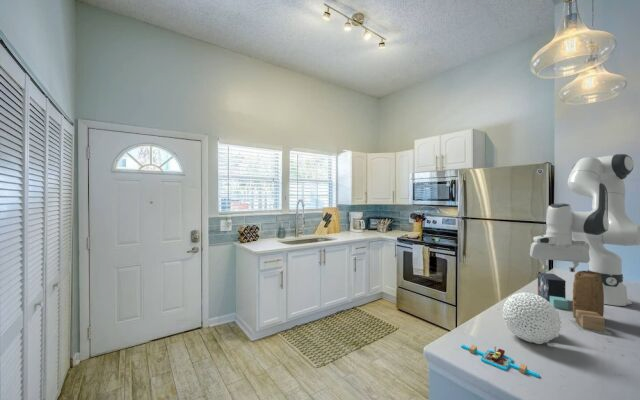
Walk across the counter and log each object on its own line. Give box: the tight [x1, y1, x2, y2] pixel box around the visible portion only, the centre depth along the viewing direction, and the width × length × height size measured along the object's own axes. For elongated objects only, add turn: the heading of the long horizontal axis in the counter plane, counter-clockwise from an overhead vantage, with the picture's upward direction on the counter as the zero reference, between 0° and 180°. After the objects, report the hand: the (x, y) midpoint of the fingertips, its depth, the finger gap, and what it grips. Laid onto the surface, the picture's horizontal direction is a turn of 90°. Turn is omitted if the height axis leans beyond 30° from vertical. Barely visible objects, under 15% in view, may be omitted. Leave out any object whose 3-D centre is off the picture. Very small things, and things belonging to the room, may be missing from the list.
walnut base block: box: [575, 310, 606, 332], centre depth 101 cm, size 6×6×5 cm
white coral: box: [502, 291, 562, 345], centre depth 96 cm, size 20×18×16 cm
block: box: [572, 270, 605, 319], centre depth 109 cm, size 11×8×20 cm
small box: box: [537, 272, 567, 302], centre depth 132 cm, size 13×7×12 cm, turn 159°
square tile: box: [569, 319, 613, 336], centre depth 101 cm, size 9×9×1 cm
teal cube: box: [550, 296, 569, 311], centre depth 120 cm, size 5×5×5 cm
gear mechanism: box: [460, 344, 540, 379], centre depth 81 cm, size 20×5×9 cm
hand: (558, 270), depth 120 cm, fingers open, 8 cm apart
